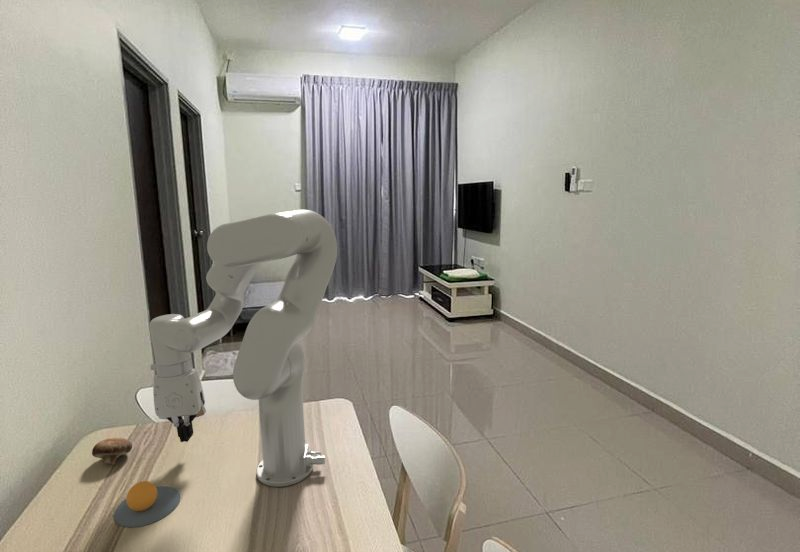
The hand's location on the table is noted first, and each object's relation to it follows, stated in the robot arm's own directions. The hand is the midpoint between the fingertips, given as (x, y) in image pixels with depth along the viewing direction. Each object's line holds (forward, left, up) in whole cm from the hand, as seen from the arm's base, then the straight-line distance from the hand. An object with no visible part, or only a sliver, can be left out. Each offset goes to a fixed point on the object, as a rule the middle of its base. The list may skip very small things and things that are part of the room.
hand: (186, 438), depth 110 cm
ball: (+2, +18, -2) cm, 18 cm away
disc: (+1, +18, -4) cm, 18 cm away
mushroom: (+17, +1, -5) cm, 18 cm away
